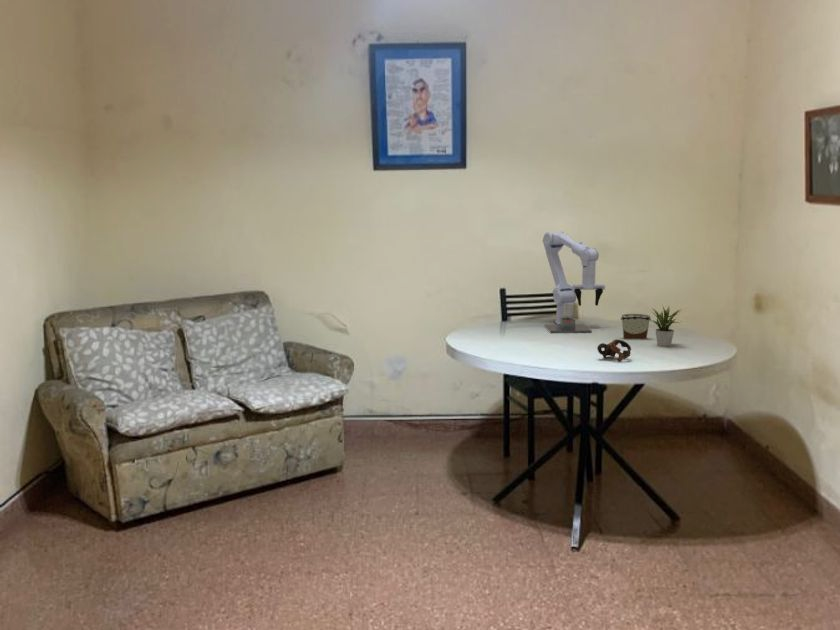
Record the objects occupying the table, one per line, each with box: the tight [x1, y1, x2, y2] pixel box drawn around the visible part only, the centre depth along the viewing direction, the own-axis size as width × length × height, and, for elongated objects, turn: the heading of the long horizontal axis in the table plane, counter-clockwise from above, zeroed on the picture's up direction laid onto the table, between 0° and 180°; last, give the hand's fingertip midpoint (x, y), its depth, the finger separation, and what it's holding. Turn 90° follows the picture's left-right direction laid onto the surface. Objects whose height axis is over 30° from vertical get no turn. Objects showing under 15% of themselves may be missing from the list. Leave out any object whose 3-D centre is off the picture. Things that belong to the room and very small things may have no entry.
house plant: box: [649, 304, 683, 347], centre depth 296 cm, size 14×14×16 cm
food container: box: [620, 313, 652, 340], centre depth 314 cm, size 12×6×10 cm, turn 84°
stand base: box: [543, 317, 592, 334], centre depth 337 cm, size 18×18×6 cm
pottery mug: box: [596, 339, 632, 363], centre depth 273 cm, size 12×10×8 cm
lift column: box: [563, 303, 573, 319], centre depth 336 cm, size 3×3×8 cm
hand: (588, 305), depth 339 cm, fingers open, 7 cm apart
